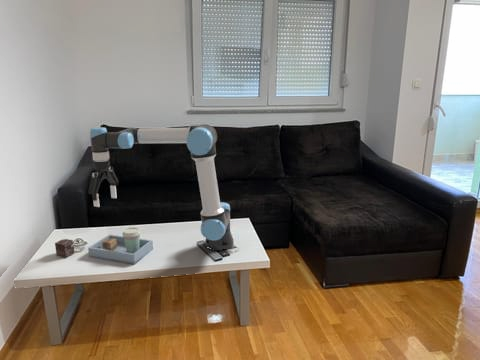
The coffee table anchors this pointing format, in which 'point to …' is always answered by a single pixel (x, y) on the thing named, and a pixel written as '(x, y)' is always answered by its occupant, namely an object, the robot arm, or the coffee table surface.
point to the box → (64, 248)
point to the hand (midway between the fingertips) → (105, 202)
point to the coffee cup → (131, 239)
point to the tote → (120, 250)
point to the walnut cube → (109, 244)
